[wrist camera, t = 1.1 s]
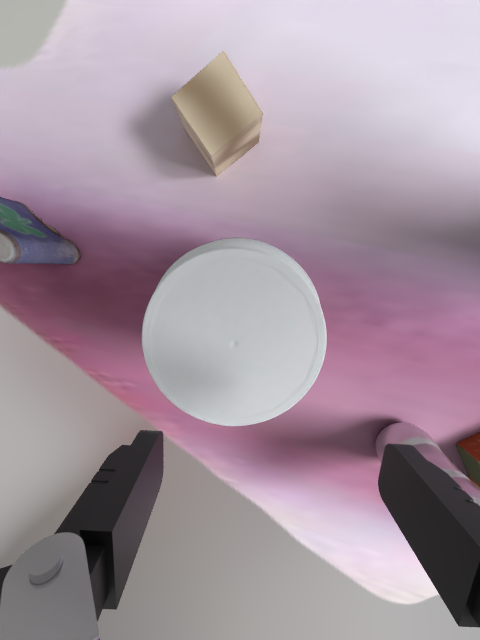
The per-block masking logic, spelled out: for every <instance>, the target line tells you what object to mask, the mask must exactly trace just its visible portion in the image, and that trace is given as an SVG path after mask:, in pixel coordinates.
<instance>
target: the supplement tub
mask: <svg viewBox="0 0 480 640" xmlns="http://www.w3.org/2000/svg"><path fill="white" fill-rule="evenodd" d="M142 347H143V353H144V357H145V361H146V364H147V368H148V370H149V372H150V374H151V376H152V378H153V380H154V382H155V383H156V385H157V386H158V388H159V389H160V390H161V391H162V393H163V394H164V395H165V396H166V397H167V398H168V399H169V400H170V401H171V402H172V403H173V404H174V405H176V406H177V407H178V408H179V409H181V410H183V411H184V412H186V413H187V414H189V415H191V416H193V417H195V418H197V419H200V420H203V421H206V422H209V423H213V424H218V425H224V426H245V425H251V424H256V423H260V422H264V421H267V420H269V419H272V418H274V417H276V416H278V415H280V414H282V413H284V412H285V411H287V410H288V409H290V408H291V407H292V406H294V405H295V404H296V403H297V402H298V401H299V400H300V399H301V398H302V397H303V396H304V395H305V394H306V393H307V391H308V390H309V389H310V388H311V386H312V385H313V383H314V381H315V380H316V378H317V376H318V374H319V372H320V369H321V367H322V364H323V360H324V356H325V352H326V324H325V319H324V315H323V311H322V309H321V305H320V301H319V298H318V294H317V292H316V289H315V287H314V285H313V283H312V281H311V280H310V278H309V277H308V275H307V274H306V272H305V271H304V270H303V269H302V267H301V266H300V265H299V264H298V263H297V262H296V261H295V260H294V259H293V258H291V257H290V256H289V255H288V254H286V253H285V252H283V251H282V250H280V249H278V248H276V247H274V246H272V245H270V244H267V243H265V242H262V241H258V240H254V239H248V238H226V239H220V240H216V241H212V242H209V243H206V244H203V245H201V246H199V247H197V248H194V249H193V250H191V251H189V252H187V253H186V254H184V255H183V256H182V257H180V258H179V259H178V260H177V261H176V262H175V263H174V264H173V265H172V266H171V267H170V268H169V269H168V270H167V271H166V273H165V274H164V276H163V277H162V278H161V280H160V282H159V284H158V286H157V288H156V290H155V292H154V294H153V296H152V297H151V299H150V302H149V304H148V307H147V309H146V312H145V316H144V320H143V327H142Z"/></svg>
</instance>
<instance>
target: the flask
mask: <svg viewBox="0 0 480 640" xmlns="http://www.w3.org/2000/svg"><path fill="white" fill-rule="evenodd" d="M80 256H81V253H80V252H79V250H78V248H77V247H76V246H75V245H74V244H73V243H72V242H71V241H70V240H69V241H68V240H66V239H65V238H64V237H63V236H61V235H60V234H59V232H58V231H56V229H55V228H53V227H52V226H50V225H49V226H48V225H46V224H44V223H43V222H42V219H40V218H38V217H36V216H35V215H34V214H33V211H31V210H30V209H28V207H26V206H25V205H24V204H23V203H20V202H16V201H12V200H8V199H5V198H2V197H0V262H2V263H6V264H9V263H35V264H46V263H49V264H74V263H76V262H77V261H78V260H79V258H80Z"/></svg>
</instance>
